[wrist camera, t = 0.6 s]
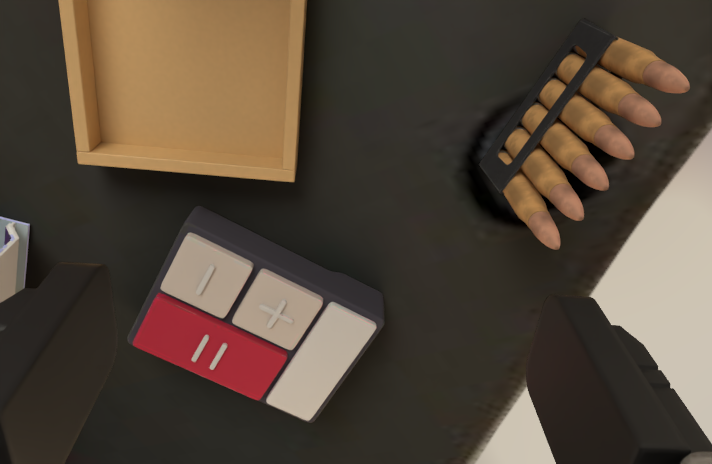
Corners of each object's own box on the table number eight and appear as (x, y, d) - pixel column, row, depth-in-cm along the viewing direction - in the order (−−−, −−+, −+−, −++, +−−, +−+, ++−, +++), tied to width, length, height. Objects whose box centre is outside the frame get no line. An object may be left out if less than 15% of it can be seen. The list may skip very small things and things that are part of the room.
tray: (55, -203, 30) (31, -214, 27) (317, -170, 30) (315, -177, 28) (93, 149, 38) (77, 164, 36) (296, 167, 39) (294, 182, 37)
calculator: (180, 226, 37) (387, 328, 40) (198, 199, 40) (386, 294, 44) (120, 349, 41) (311, 433, 44) (141, 314, 45) (315, 393, 48)
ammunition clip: (581, 17, 35) (687, 57, 24) (606, 33, 35) (720, 79, 25) (478, 165, 39) (530, 255, 29) (501, 177, 40) (560, 270, 29)
